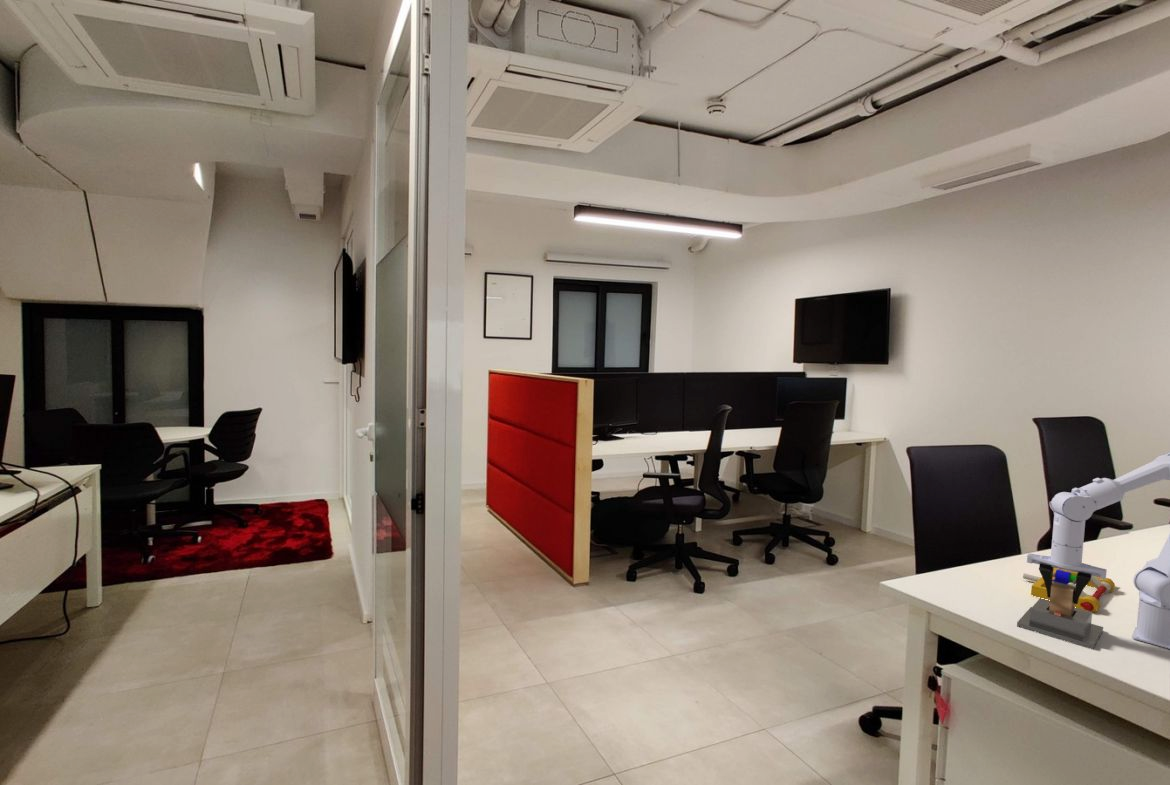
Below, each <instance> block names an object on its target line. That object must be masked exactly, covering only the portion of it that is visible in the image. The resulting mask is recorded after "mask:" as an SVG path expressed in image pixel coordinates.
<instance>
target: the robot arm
mask: <svg viewBox="0 0 1170 785" xmlns="http://www.w3.org/2000/svg"><path fill="white" fill-rule="evenodd" d="M1164 480H1165V481H1167V480H1168V481H1170V452H1168V453H1166V454H1162V455H1159V456H1157V457H1155V459H1154V460H1152V461H1150V462H1148V463H1146V464H1144V465H1142V466H1140V467H1137V468H1136V469H1133V470H1131V471H1129V472H1127V473H1125V474H1123V475H1121V476H1118V477H1117V478H1114V479H1111V478H1109V477H1108V478H1107V477H1102V478H1099V477H1096V478H1093V479H1092V482H1090V483H1088V484H1086V485H1083V486H1081V487H1073V488H1072V489H1071V492H1067V491H1062V492H1058V493H1056V494H1055V495H1054V496H1053V497H1052V499H1051V501H1049V507H1050V510H1052V512H1053V515H1054V516H1053V526H1052V536H1051V537H1052V539H1051V549H1050V556H1048V555H1044V554H1043V555H1042V554H1034V553H1027V555H1026V563H1028V564H1036V565H1039V567H1038V570H1039V573H1040V576H1041V577H1043V580H1044V582H1045V586H1046V590H1047V597H1049V598H1050V594H1051V585H1052V578H1053V570H1054V568H1058V569H1063V570H1067V571H1072V572H1077V576H1076V584H1075V585H1076V591H1075V596H1074V602H1073V603H1074V604H1078V599H1079V597H1080V594H1081V592H1082V591H1084V590H1085V588H1086V587H1087V586H1086V585H1087V584H1088V583H1089V581H1090V580H1091V576H1095V577H1099V578H1101V579H1106V578H1107V568H1103V567H1099V566H1098V567H1097V566H1094V565H1091V564H1088V563H1084V562H1082V561H1083V554H1084V540H1085V539H1084V538H1085V528H1086V521H1087V520H1090V518H1091V517H1092V515H1093V513H1094V512H1096V511H1097V510H1101V509H1103V508H1106V507H1107V506H1110V505H1113V504H1115V503H1118V502H1121V501H1123V499H1124V496H1125V494H1126V493H1128V492H1132V491H1134V490H1137V489H1140V488H1143V487H1145V486H1149V485H1151V484H1154V483H1157V482H1160V481H1164ZM1167 536H1168V537H1167V539H1166V541H1165V542H1164V544H1163V546H1162V548H1161V550H1160V552H1159V554H1158V556H1157V557H1155V558H1153V559H1150V560H1147V561H1146V563H1145V564H1144V566H1143V567H1142V568H1141V569H1139V570H1138V571H1136V573H1135V574H1134V576H1133V580H1132V581H1133V585H1134V587H1135V588H1136V589H1137V590H1138V596H1139V599H1138V610H1137V620H1136V627H1134V630H1133V633H1132V635H1131V638H1132V639H1134V640H1136V641H1140V642H1144V643H1147V644H1151V645H1155V646H1157V647H1161V648H1164V649H1169V650H1170V533H1169V534H1168V535H1167Z"/></svg>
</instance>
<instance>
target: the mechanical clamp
mask: <svg viewBox="0 0 1170 785" xmlns="http://www.w3.org/2000/svg"><path fill="white" fill-rule="evenodd" d="M1076 576H1077V572H1072V571H1067V570H1063V569H1058V568H1054V570H1053V578H1052V584H1053V583H1054V582H1058V583H1063V584H1067V585H1071V586H1075V587H1076ZM1022 578H1023V579H1025V580H1028V581H1031V582H1034V583H1033V584H1032V585H1031V589H1030V590H1031V592H1030V596H1031V595H1033V596H1032V597H1034V596H1036V597H1035V598H1037V597H1040V598H1044V599H1048V600H1050V598H1049V597H1047V590H1046V586H1045V582H1044V580H1043V577H1042V576H1041V577H1040V576H1037V575H1034V574H1033V575H1032V574H1028V573H1023V576H1022ZM1090 586H1091V588H1094V587H1095V589H1096V591H1094V592H1093V594H1092V595H1091V596H1090V595H1088V594H1087V592H1085V591H1084V590H1083V591H1082V592H1081V594H1080V597H1079V599H1078V604H1074V607H1076V608H1079V609H1083V610H1086V611H1090V612H1093V613H1092V614H1095V613H1097V611H1098V610H1099V609H1100V607H1101V604H1100V598H1101V597H1102V595H1104V594H1111V593H1112V592H1113V591H1114V589H1115V588H1116V584H1115V582H1114V581H1113V580H1112V579H1111V578H1108V577H1106V579H1101V578H1099V577H1095V576H1091V580H1090V581H1089V583H1088V584H1087V586H1086V587H1090ZM1040 598H1039V599H1040Z"/></svg>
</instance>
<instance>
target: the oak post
mask: <svg viewBox="0 0 1170 785" xmlns="http://www.w3.org/2000/svg"><path fill="white" fill-rule="evenodd" d="M1075 591H1076V587H1075V586H1071V585H1067V584H1063V583H1058V582H1054V583H1053V584H1052V585H1051V594H1050V605H1049V611H1053V612H1055V611H1056V610H1057V611H1061V612H1062V614H1064V615H1067V616H1071V617H1073V614H1074V603H1073V602H1074V596H1075Z"/></svg>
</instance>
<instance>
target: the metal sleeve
mask: <svg viewBox="0 0 1170 785" xmlns="http://www.w3.org/2000/svg"><path fill="white" fill-rule="evenodd" d="M1049 605H1050V601H1049V600H1045V599H1041V598H1038V600H1037V601H1036V602H1035V603H1034V604H1033V605H1032V606H1030V607H1029V609H1027V611H1025V613H1024V614H1023V615H1022V617H1020V619H1018V621H1017V622H1016V627H1018V626H1020V627H1019V628H1021V627H1023V628H1022V629H1024V628H1026V629H1025V630H1027V629H1030V630H1029V631H1031V630H1033V631H1032V632H1034V631H1036V632H1035V633H1037V632H1040V633H1039V634H1041V633H1042V635H1044V634H1045V635H1044V636H1047V635H1048V637H1051V636H1052V637H1051V638H1054V637H1056V638H1055V639H1057V638H1059V639H1058V640H1060V639H1062V640H1061V641H1064V640H1065V641H1064V642H1067V641H1068V642H1067V643H1070V642H1071V643H1072V644H1074V645H1077V646H1080V645H1081V647H1085V648H1087V647H1088V648H1087V649H1090V648H1091V650H1094V648H1096V646H1097V643H1098V642H1099V639H1100V637H1101V636H1102V634H1103V631H1104V626H1101V625H1097V624H1094V623H1092V618H1093V613H1092V612H1090V611H1086V610H1083V609H1079V608H1075V607H1074V614H1073V617H1071V616H1067V615H1064V614H1062V612H1061V611H1057V610H1056V611H1055V612H1053V611H1049ZM1071 643H1070V644H1071Z"/></svg>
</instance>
